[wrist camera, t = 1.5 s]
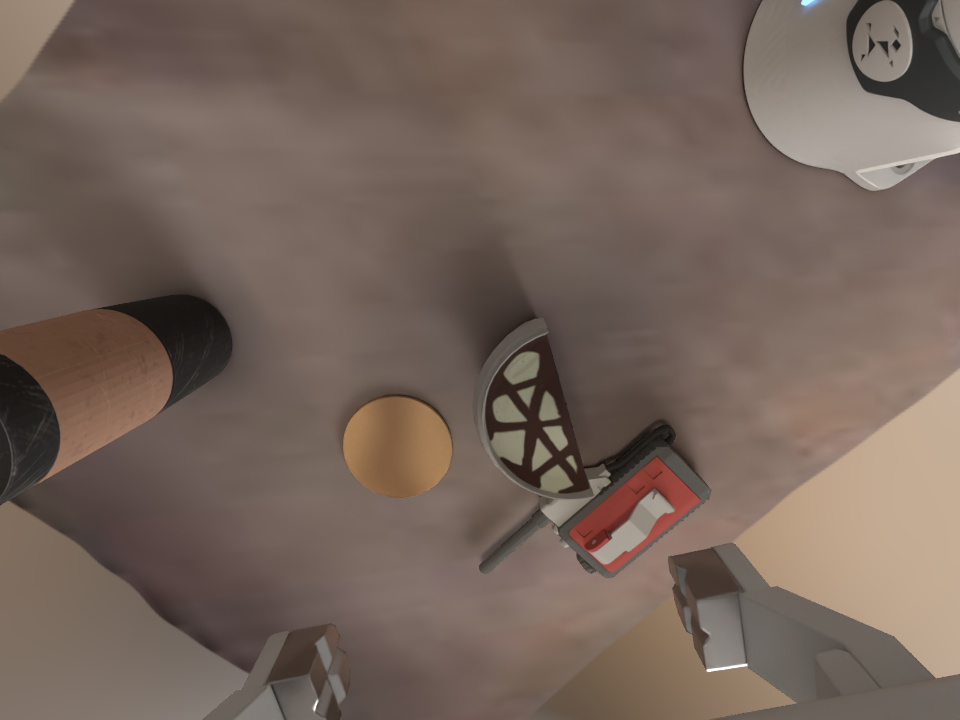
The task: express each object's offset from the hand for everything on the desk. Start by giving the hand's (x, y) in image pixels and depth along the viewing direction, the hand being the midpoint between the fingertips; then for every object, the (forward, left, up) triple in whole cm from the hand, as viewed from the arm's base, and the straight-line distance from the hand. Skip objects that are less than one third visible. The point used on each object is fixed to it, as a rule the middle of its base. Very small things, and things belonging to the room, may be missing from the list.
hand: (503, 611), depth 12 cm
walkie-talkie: (-2, +17, -30) cm, 34 cm away
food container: (0, +4, -30) cm, 30 cm away
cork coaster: (+11, +5, -30) cm, 32 cm away
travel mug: (+22, -10, -30) cm, 38 cm away
